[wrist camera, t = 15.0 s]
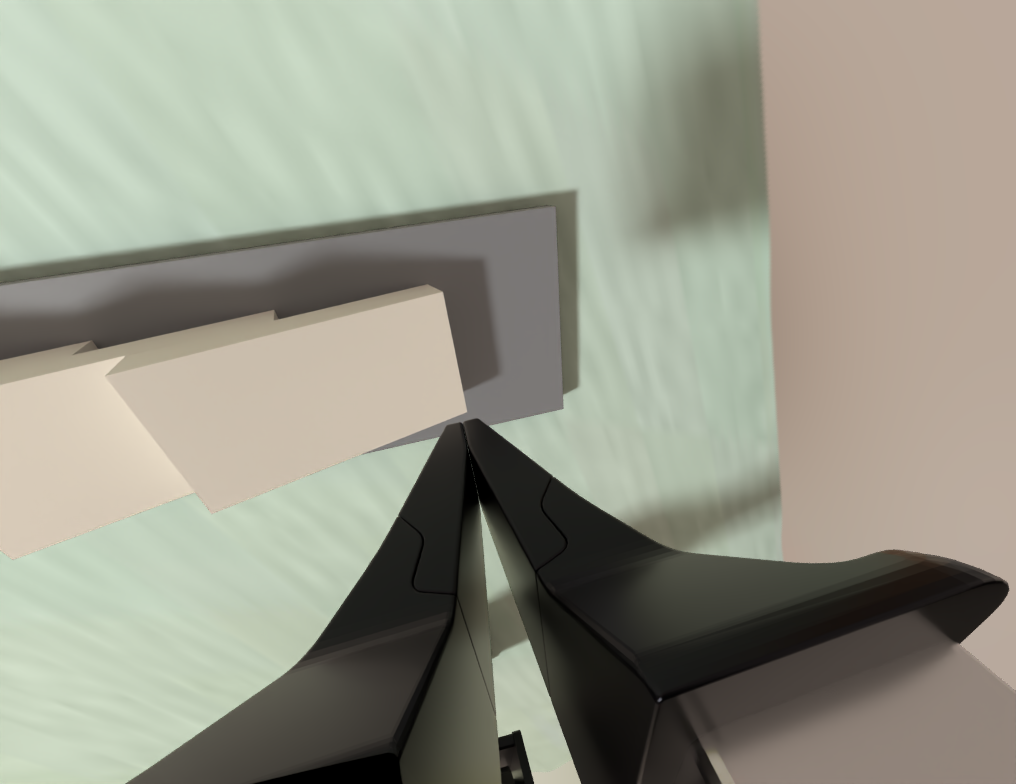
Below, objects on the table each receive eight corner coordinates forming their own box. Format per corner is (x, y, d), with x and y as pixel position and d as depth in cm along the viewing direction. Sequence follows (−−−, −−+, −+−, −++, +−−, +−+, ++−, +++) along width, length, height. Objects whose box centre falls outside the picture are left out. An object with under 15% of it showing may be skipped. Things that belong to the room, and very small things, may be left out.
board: (556, 398, 19) (563, 408, 18) (-149, 555, 14) (-185, 577, 14) (547, 205, 14) (555, 206, 13) (-488, 352, 10) (-573, 367, 9)
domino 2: (467, 412, 15) (211, 514, 11) (452, 396, 16) (218, 483, 13) (443, 291, 12) (104, 376, 9) (427, 284, 14) (125, 355, 10)
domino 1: (329, 442, 14) (12, 559, 11) (325, 423, 15) (40, 523, 12) (273, 320, 12) (-167, 424, 8) (274, 309, 13) (-108, 395, 9)
